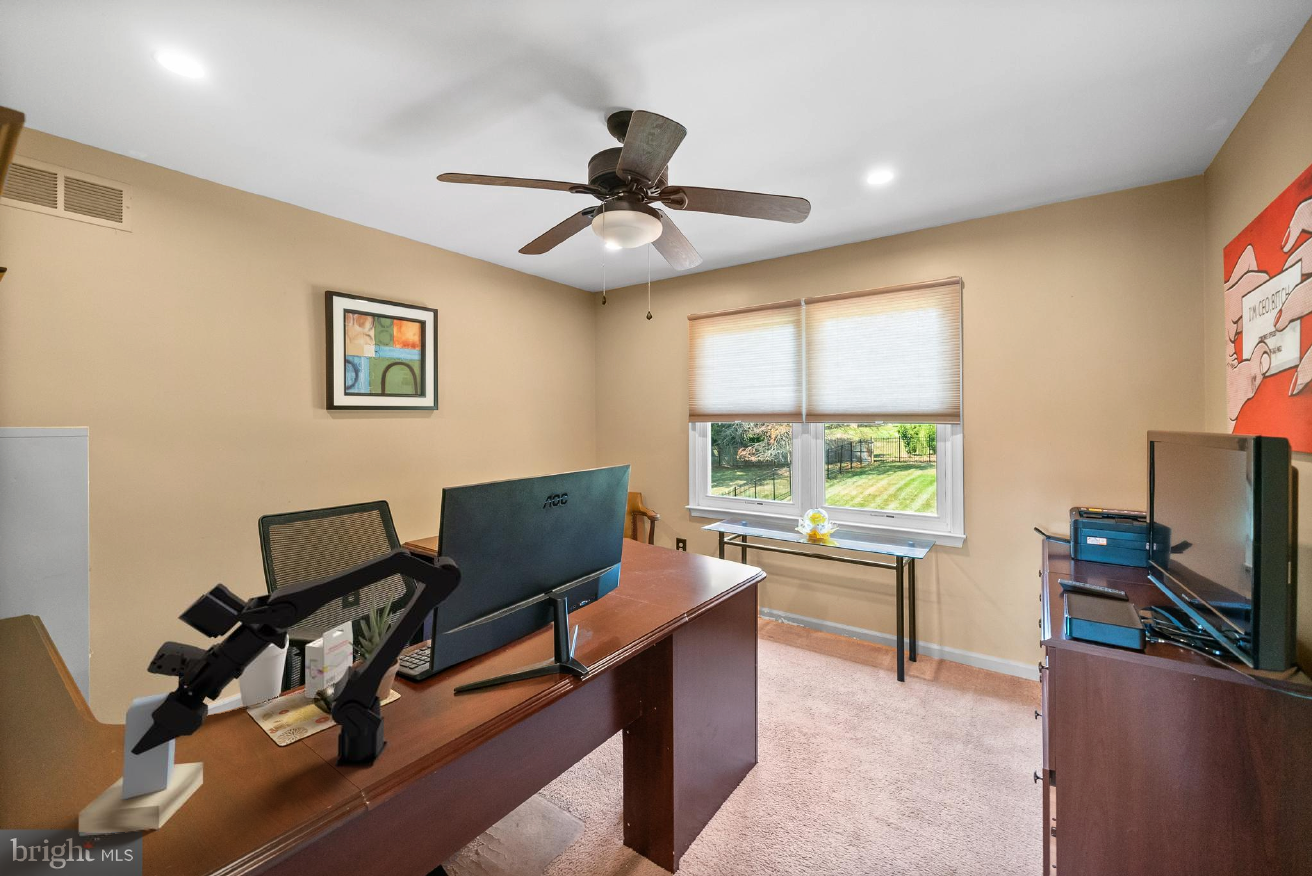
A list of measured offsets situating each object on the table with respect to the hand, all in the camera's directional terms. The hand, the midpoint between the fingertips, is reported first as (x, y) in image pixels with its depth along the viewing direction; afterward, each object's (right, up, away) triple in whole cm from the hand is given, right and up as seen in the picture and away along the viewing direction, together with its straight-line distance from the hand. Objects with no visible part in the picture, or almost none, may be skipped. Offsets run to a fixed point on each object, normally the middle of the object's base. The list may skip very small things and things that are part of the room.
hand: (145, 736), depth 82 cm
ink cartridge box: (+5, -11, +37) cm, 39 cm away
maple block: (0, -12, 0) cm, 12 cm away
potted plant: (+17, -11, +35) cm, 40 cm away
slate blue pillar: (0, -8, 0) cm, 8 cm away
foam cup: (-6, -10, +32) cm, 34 cm away
